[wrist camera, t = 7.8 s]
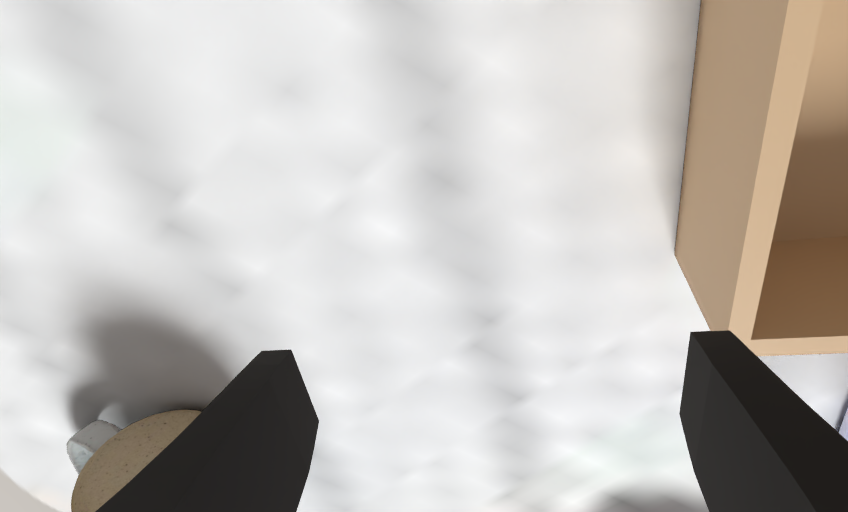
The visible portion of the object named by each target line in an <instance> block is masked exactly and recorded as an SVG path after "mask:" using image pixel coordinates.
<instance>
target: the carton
mask: <svg viewBox="0 0 848 512" xmlns="http://www.w3.org/2000/svg"><path fill="white" fill-rule="evenodd" d="M675 257H676V259H677V261H678V263H679V265H680V267H681V270H682V272H683V274H684V276H685V278H686V280H687V282H688V284H689V286H690V289H691V291H692V293H693V295H694V297H695V299H696V301H697V303H698V305H699V307H700V310H701V312H702V314H703V316H704V318H705V320H706V322H707V324H708V326H709V329H710V331H725V330H730V331H731V332H732V333H733V334H734V335H736V336H737V337H738V338H739V339H740V340H741V341H742V342H743V343H744V344H745V345H746V346H747V347H748V348H749V349H750V350H751V351H752V352H753V353H754V354H755V355H756V356H776V355H803V354H831V353H848V0H701V5H700V15H699V25H698V34H697V44H696V53H695V63H694V73H693V82H692V92H691V101H690V111H689V120H688V130H687V140H686V149H685V159H684V168H683V178H682V188H681V197H680V207H679V216H678V226H677V236H676V245H675Z"/></svg>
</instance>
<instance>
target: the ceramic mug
mask: <svg viewBox="0 0 848 512" xmlns="http://www.w3.org/2000/svg"><path fill="white" fill-rule="evenodd" d="M201 412H202V411H197V410H174V411H168V412H163V413H159V414H155V415H151V416H149V417H146V418H144V419H142V420H139V421H137V422H135V423H133V424H131V425H129V426H127V427H126V428H124V429H123V430H121V429H120V428H118V427H117V426H115V425H113V424H111V423H108V422H106V421H103V420H97V421H94V422H92V423H90V424H89V425H88V426H86V427H85V428H83V429H81V430H80V431H79V432H77V433H76V434H75V435H74V436H73V437H71V438H70V440H69V441H68V442H67V452H68V454H69V457H70V460H71V462H72V464H73V465H74V467H75V469H76V471H77V473H78V474H79V476H78V478H77V481H76V484H75V487H74V490H73V493H72V500H71V509H72V512H95V511H96V510H97V509H99V508H100V507H101V506H102V505H103V504H105V503H106V502H107V501H108V500H109V499H110V498H112V497H113V496H114V495H115V494H116V493H117V492H118V491H120V490H121V489H122V488H123V487H124V486H125V485H126V484H127V483H129V482H130V481H131V480H132V479H133V478H134V477H135V476H136V475H137V474H138V473H139V472H140V471H141V470H142V469H143V468H145V467H146V466H147V465H148V464H149V463H150V462H151V461H152V460H153V459H154V458H155V457H156V456H157V455H158V454H159V453H161V452H162V451H163V450H164V449H165V448H166V447H167V446H168V445H169V444H170V443H171V442H172V441H173V440H174V439H175V438H176V437H177V436H178V435H179V434H180V433H181V432H182V431H183V430H184V429H185V428H186V427H187V426H188V425H189V424H190V423H191V422H192V421H193V420H194V419H195V418H196V417H197V416H198V415H199V414H200V413H201Z"/></svg>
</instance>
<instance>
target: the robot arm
mask: <svg viewBox="0 0 848 512" xmlns="http://www.w3.org/2000/svg"><path fill="white" fill-rule="evenodd" d="M680 418H681V422H682V426H683V430H684V434H685V438H686V442H687V446H688V450H689V454H690V458H691V461H692V465H693V469H694V472H695V475H696V478H697V480H698V483H699V486H700V488H701V491H702V494H703V496H704V499H705V501H706V504H707V507H708V509H709V512H848V409H847V411H846V414H845V417H844V419H843V422H842V425H841V427H840V430H839V433H838V432H837V431H836V430H835V429H834V428H833V427H832V426H831V425H829V424H828V423H827V422H826V421H825V420H824V419H823V418H822V417H820V416H819V415H818V414H817V413H816V412H815V411H814V410H813V409H812V408H810V407H809V406H808V405H807V404H806V403H805V402H804V401H803V400H802V399H801V398H800V397H799V396H798V395H797V394H795V393H794V392H793V391H792V390H791V389H790V388H789V387H788V386H787V385H786V384H785V383H784V382H783V381H782V380H781V379H780V378H779V377H778V376H777V375H776V374H775V373H773V372H772V371H771V370H770V369H769V368H768V367H767V366H766V365H765V364H764V363H763V362H762V361H761V360H760V359H759V358H758V357H757V356H756V355H755V354H754V353H753V352H752V351H751V350H750V349H749V348H748V347H747V346H746V345H745V344H744V343H743V342H742V341H741V340H740V339H739V338H738V337H737V336H736V335H734V334H733V333H732V332H731V331H730V330H725V331H703V332H691V333H690V341H689V348H688V355H687V363H686V370H685V377H684V385H683V392H682V400H681V407H680ZM318 423H319V420H318V417H317V415H316V412H315V410H314V407H313V405H312V402H311V399H310V397H309V394H308V392H307V389H306V387H305V384H304V381H303V379H302V376H301V374H300V371H299V369H298V366H297V363H296V361H295V358H294V356H293V353H292V351H291V350H274V351H261V352H260V353H259V354H258V355H257V356H256V357H255V358H254V359H253V360H252V361H251V362H250V363H249V364H248V365H247V366H246V367H245V368H244V369H243V370H242V371H241V372H240V373H239V374H238V375H237V376H236V377H235V378H234V379H233V380H232V381H231V382H230V384H229V385H228V386H227V387H226V388H225V389H224V390H223V391H222V392H221V393H220V394H219V395H218V396H217V397H216V398H215V399H214V400H213V401H212V402H211V403H210V404H209V405H208V406H207V407H206V408H205V409H204V410H203V411H202V412H201V413H200V414H199V415H198V416H197V417H196V418H195V419H194V420H193V421H192V422H191V423H190V424H189V425H188V426H187V427H186V428H185V429H184V430H183V431H182V432H181V433H180V434H179V435H178V436H177V437H176V438H175V439H174V440H173V441H172V442H171V443H170V444H169V445H168V446H167V447H166V448H165V449H164V450H163V451H162V452H161V453H159V454H158V455H157V456H156V457H155V458H154V459H153V460H152V461H151V462H150V463H149V464H148V465H147V466H146V467H145V468H143V469H142V470H141V471H140V472H139V473H138V474H137V475H136V476H135V477H134V478H133V479H132V480H131V481H130V482H129V483H127V484H126V485H125V486H124V487H123V488H122V489H121V490H120V491H118V492H117V493H116V494H115V495H114V496H113V497H112V498H110V499H109V500H108V501H107V502H106V503H105V504H103V505H102V506H101V507H100V508H99V509H97V510H96V511H95V512H296V511H297V508H298V505H299V501H300V498H301V495H302V492H303V489H304V486H305V483H306V480H307V477H308V473H309V469H310V465H311V460H312V455H313V450H314V445H315V440H316V434H317V429H318Z"/></svg>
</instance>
